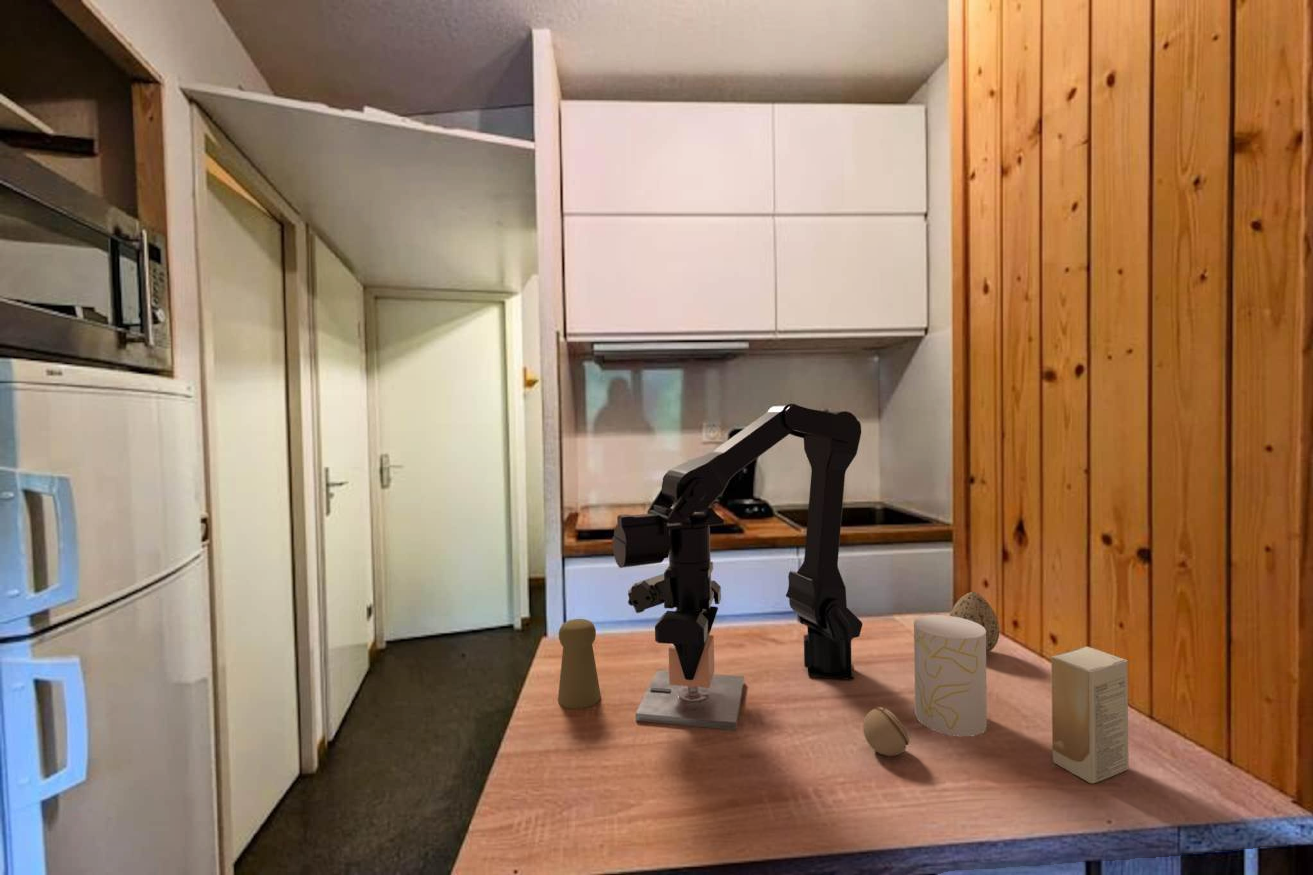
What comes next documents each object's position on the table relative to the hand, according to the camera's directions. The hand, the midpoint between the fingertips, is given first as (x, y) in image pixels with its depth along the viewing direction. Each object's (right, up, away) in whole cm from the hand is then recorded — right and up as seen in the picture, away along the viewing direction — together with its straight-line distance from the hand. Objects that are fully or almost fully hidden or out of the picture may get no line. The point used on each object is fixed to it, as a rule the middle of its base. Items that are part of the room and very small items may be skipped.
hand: (692, 670), depth 80 cm
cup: (+32, -4, -6) cm, 33 cm away
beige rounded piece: (+22, -4, -13) cm, 26 cm away
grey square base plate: (0, -4, 0) cm, 4 cm away
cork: (-16, -5, +2) cm, 17 cm away
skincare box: (+42, -4, -17) cm, 46 cm away
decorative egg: (+46, -3, +13) cm, 48 cm away
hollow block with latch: (0, -1, 0) cm, 1 cm away
